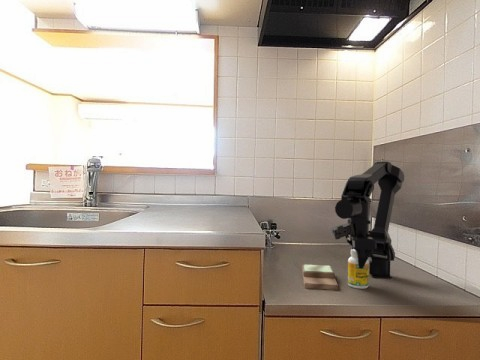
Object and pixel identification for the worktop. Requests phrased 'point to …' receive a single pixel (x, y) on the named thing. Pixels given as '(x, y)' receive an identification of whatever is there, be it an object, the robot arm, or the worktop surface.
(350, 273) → the supplement bottle
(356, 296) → the worktop surface
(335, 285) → the step stand
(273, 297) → the worktop surface
